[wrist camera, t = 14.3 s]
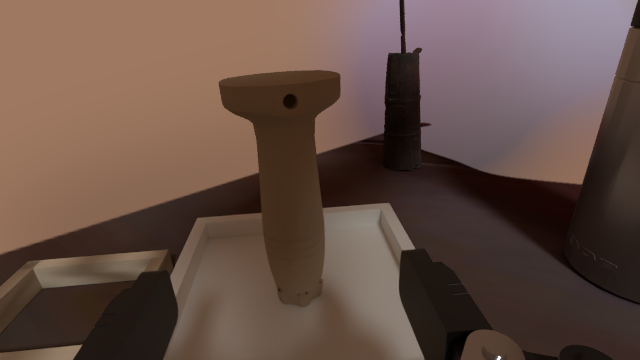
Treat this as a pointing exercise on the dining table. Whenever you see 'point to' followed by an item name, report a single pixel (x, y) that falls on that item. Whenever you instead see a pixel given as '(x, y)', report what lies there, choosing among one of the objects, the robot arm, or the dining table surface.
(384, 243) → the tray
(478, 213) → the dining table surface
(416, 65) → the butter churn
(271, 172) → the handle
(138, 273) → the wooden square frame
